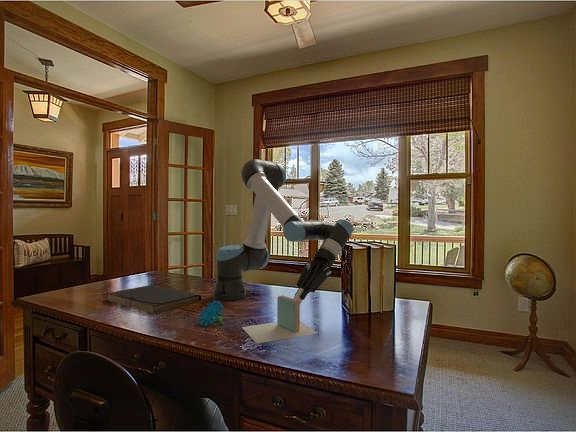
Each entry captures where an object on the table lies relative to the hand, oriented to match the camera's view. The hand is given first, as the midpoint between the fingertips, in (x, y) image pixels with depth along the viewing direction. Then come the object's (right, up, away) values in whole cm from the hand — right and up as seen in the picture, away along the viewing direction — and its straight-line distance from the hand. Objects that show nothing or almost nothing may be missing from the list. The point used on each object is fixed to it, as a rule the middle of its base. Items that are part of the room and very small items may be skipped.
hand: (293, 305), depth 112 cm
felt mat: (-5, -8, -3) cm, 10 cm away
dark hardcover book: (-61, -7, +32) cm, 69 cm away
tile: (-2, -7, -1) cm, 8 cm away
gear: (-29, -7, +3) cm, 30 cm away
